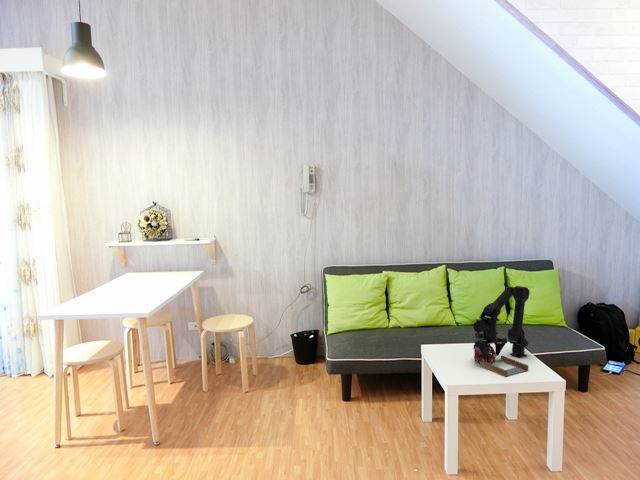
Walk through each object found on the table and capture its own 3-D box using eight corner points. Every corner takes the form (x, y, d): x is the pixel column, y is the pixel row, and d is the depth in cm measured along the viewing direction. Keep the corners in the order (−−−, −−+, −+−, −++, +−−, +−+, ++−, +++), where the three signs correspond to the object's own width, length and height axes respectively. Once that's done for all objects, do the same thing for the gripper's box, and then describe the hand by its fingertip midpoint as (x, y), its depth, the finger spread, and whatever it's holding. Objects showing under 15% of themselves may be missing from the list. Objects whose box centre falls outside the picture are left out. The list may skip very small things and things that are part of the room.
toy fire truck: (498, 363, 245) (498, 344, 244) (477, 365, 243) (477, 346, 242) (492, 359, 252) (492, 341, 251) (471, 360, 250) (471, 342, 249)
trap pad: (516, 367, 238) (516, 367, 237) (526, 371, 232) (526, 370, 232) (498, 372, 232) (498, 371, 232) (507, 376, 226) (507, 375, 226)
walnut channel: (502, 360, 248) (502, 355, 248) (528, 370, 233) (528, 365, 233) (480, 366, 241) (480, 360, 241) (505, 377, 226) (505, 371, 225)
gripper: (491, 323, 255) (491, 350, 256) (467, 328, 247) (467, 356, 248) (507, 328, 245) (507, 356, 246) (482, 333, 237) (482, 362, 238)
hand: (490, 357), depth 245 cm, fingers open, 9 cm apart
